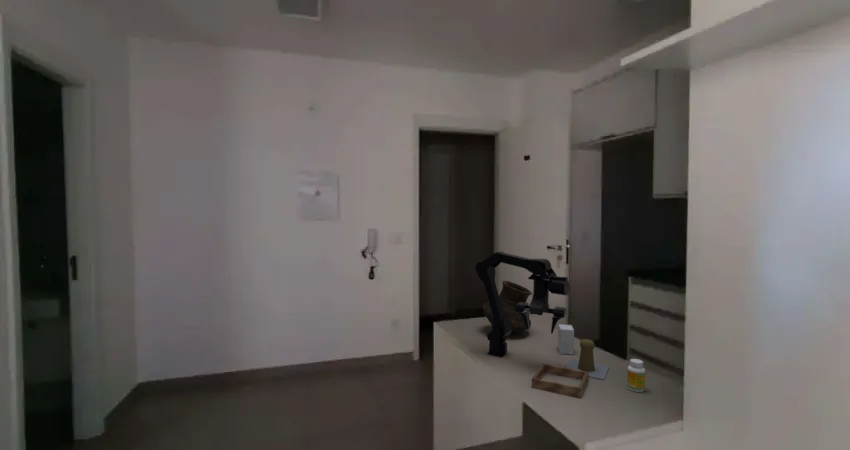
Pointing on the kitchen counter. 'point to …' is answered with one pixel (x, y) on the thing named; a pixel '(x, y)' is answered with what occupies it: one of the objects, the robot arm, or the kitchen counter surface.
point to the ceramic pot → (511, 305)
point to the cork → (586, 356)
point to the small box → (566, 339)
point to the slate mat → (598, 373)
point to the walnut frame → (559, 387)
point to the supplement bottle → (636, 376)
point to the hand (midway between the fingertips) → (539, 331)
